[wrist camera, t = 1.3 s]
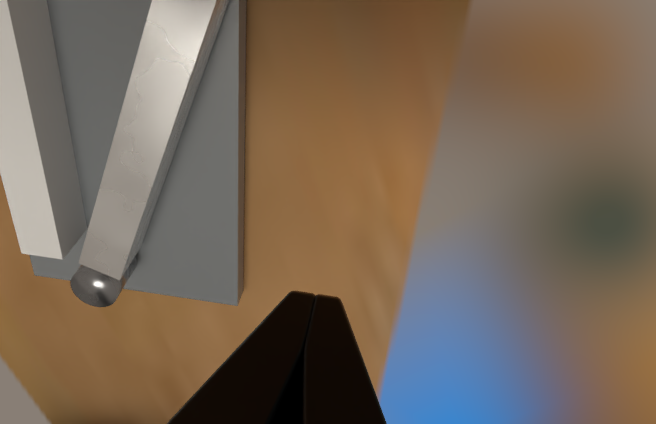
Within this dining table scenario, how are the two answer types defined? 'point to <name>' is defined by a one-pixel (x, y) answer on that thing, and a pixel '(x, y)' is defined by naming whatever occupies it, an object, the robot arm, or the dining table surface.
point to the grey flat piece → (97, 136)
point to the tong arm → (145, 141)
